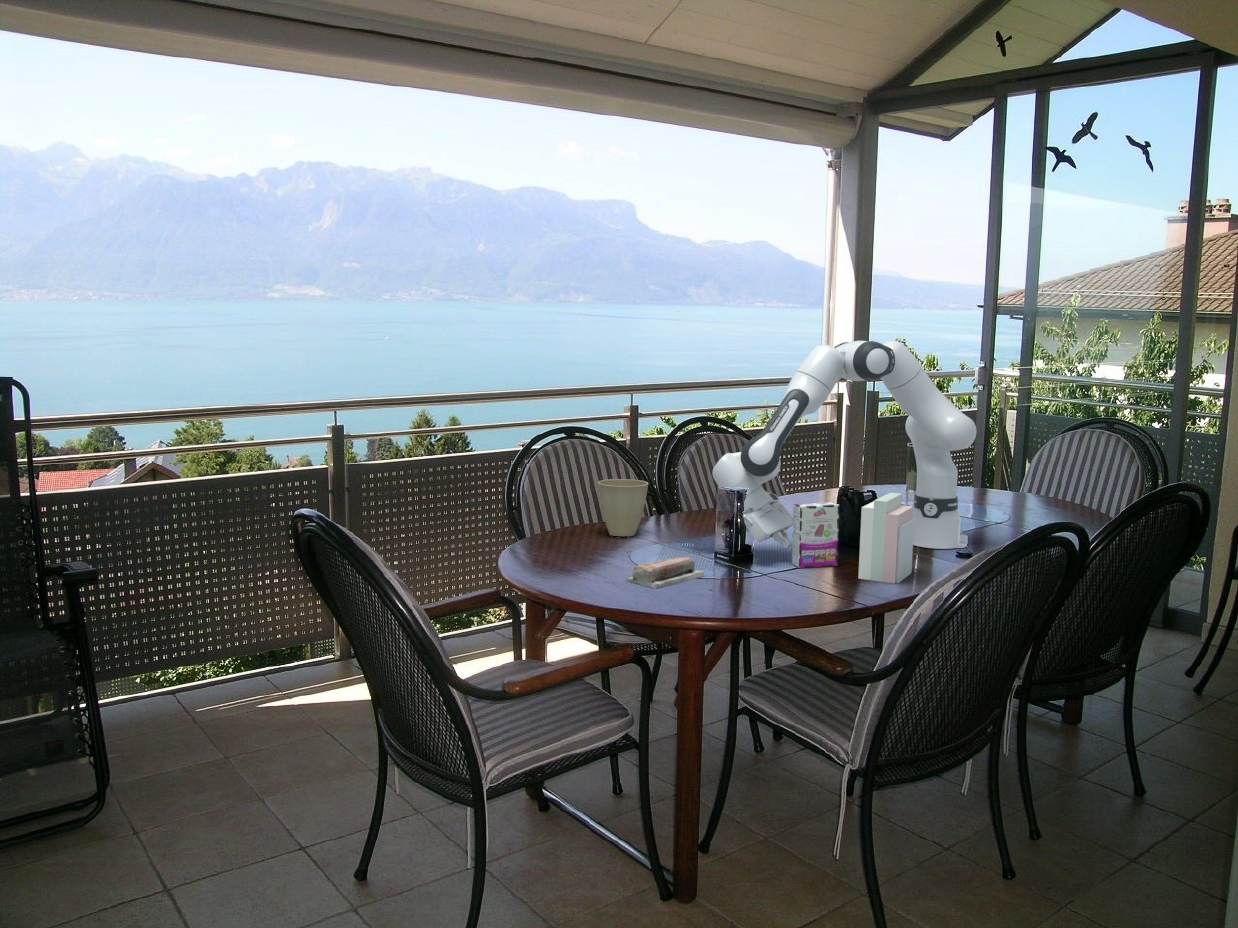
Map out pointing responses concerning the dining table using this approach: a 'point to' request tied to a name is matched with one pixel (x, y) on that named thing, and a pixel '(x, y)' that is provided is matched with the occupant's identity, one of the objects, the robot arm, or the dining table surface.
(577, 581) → the dining table surface
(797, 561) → the candy bar box
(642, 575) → the packaged product
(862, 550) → the book row
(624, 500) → the plant pot
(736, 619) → the dining table surface
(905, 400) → the robot arm
